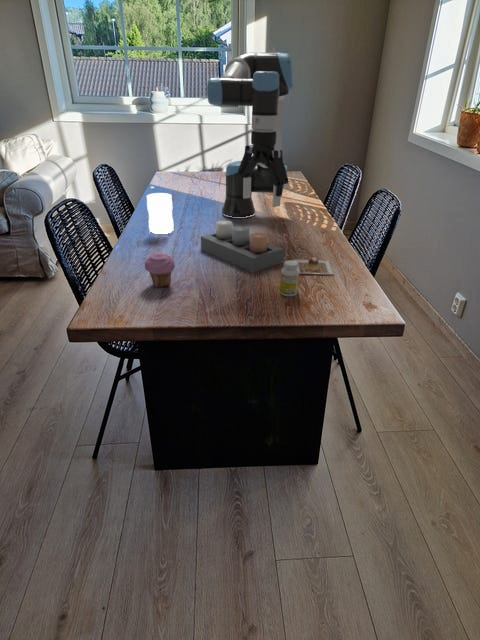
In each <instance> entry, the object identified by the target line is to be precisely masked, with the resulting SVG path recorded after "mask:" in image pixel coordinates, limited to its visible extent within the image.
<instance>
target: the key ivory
mask: <svg viewBox="0 0 480 640" xmlns="http://www.w3.org/2000/svg"><path fill="white" fill-rule="evenodd" d="M232 228H234V227H233V222H232V221H230V220H218V221H216V222H215V233H216V237H217V238H219V239H230V238H232Z"/></svg>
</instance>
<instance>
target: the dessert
mask: <svg viewBox="0 0 480 640" xmlns="http://www.w3.org/2000/svg"><path fill="white" fill-rule="evenodd" d="M293 261H296V262H297V263H298V264H299V263H303V264H307V265H306V267H305V269H306V270H308V271H312V272H301V271H300V267H299V265H298V267H297V269H298V270H299V275H326V276H330V275H334V272H333V270H332V267H331V263H330V262H329V260H322V259H321V260H320V259H318V258H316V257H315V256H314V257H311V258H310V259H293ZM320 264H325V267H326V270H327V273H321V272H320V273H318V272H317V271H319V270H320ZM313 271H314V272H313Z"/></svg>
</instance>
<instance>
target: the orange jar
mask: <svg viewBox="0 0 480 640" xmlns="http://www.w3.org/2000/svg"><path fill="white" fill-rule="evenodd" d="M249 236H250V245H249V250H250V251H251V252H254V253H264V252H266V251H267V243H268V237H269V235H268V234H267V233H263V232H253V233H249Z"/></svg>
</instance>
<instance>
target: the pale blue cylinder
mask: <svg viewBox="0 0 480 640" xmlns="http://www.w3.org/2000/svg"><path fill="white" fill-rule="evenodd" d="M250 230H251V229H250V228H249V227H246V226H234V227H233V228H232V244H234V245H237V246H245V245H248V244H249V236H250Z"/></svg>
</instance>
